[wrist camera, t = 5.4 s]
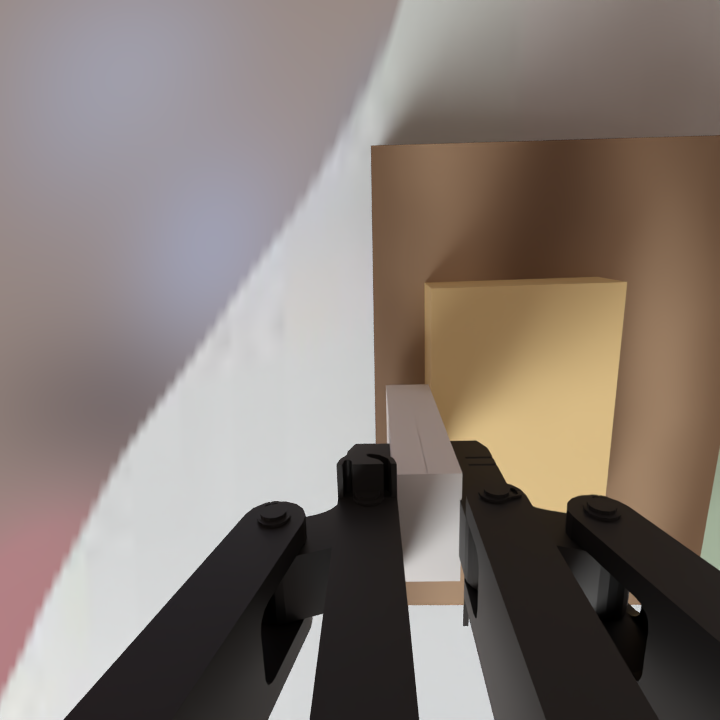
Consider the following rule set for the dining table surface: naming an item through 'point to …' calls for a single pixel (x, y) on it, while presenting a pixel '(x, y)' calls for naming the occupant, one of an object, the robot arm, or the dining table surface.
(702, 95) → the dining table surface
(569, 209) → the brown piece
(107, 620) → the dining table surface
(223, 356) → the dining table surface
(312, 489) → the dining table surface
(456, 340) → the yellow rectangular block
